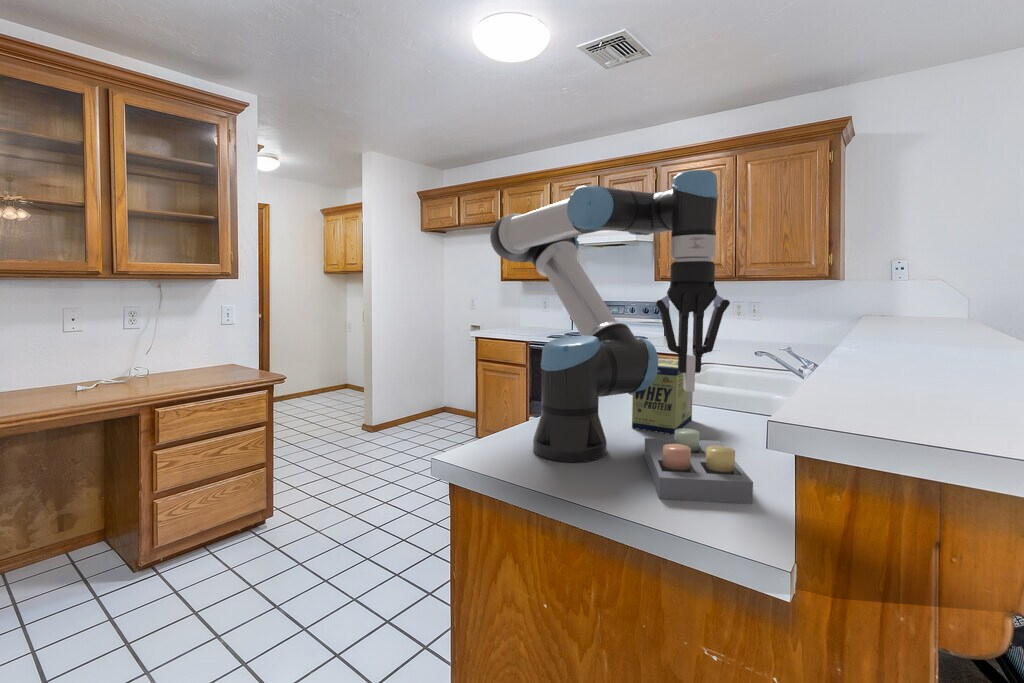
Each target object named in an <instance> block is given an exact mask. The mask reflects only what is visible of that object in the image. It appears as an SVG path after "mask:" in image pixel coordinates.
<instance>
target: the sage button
mask: <svg viewBox="0 0 1024 683" xmlns="http://www.w3.org/2000/svg"><path fill="white" fill-rule="evenodd" d="M673 436H674V437H673V438H674V444H681V445H685V446H688V447H690V448H691V451H696V450H699V440H700V431H699V430H696V429H693V428H692V429H691V428H685V427H683V428H680V429H676V430H675V435H673Z"/></svg>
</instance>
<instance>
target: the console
mask: <svg viewBox="0 0 1024 683" xmlns="http://www.w3.org/2000/svg"><path fill="white" fill-rule="evenodd" d="M666 444H674V439H673V438H656V437H655V438H650V437H644V450H643V451H644V453H643V454H644V458H645V461H646V464H647V467H648V470H649V473H650V476H651V479H652V483H653V484H654V485H653V486H654V487H655V491H656V495H657V497H658V500H659V499H660V500H661V499H662V500H676V501H677V500H678V501H694V502H695V501H696V502H710V503H711V502H715V503H731V504H746V505H748V504H749V505H750V504H751V505H752V504H753V494H754V493H753V492H754V491H753V490H754V489H753V488H754V482H753V481H752V479H751V478H750V476H749V475H748V474H747V473H746V472H745V471H744V469H743V468H742V467H741V466H740V465H739V463H737V461H736V460H735V469H734V471H731V472H719V471H714V470H711V469H709V468H707V467H706V449H707V447H708V446H714V445H717V446H723V445H722V444H721V443H720V441H719V440H702V439H701V440H700V439H699V450H696V451H691V459H690V468H689V469H685V470H675V469H670V468H667V467H665V466H664V465H663V446H664V445H666Z"/></svg>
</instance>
